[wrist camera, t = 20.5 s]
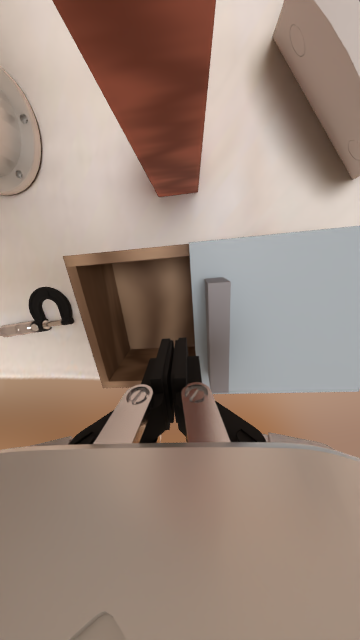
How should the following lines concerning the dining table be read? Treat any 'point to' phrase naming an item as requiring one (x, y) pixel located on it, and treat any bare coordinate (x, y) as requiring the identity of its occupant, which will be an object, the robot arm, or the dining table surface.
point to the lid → (278, 312)
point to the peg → (151, 77)
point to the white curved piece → (327, 66)
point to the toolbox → (132, 307)
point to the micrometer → (40, 313)
